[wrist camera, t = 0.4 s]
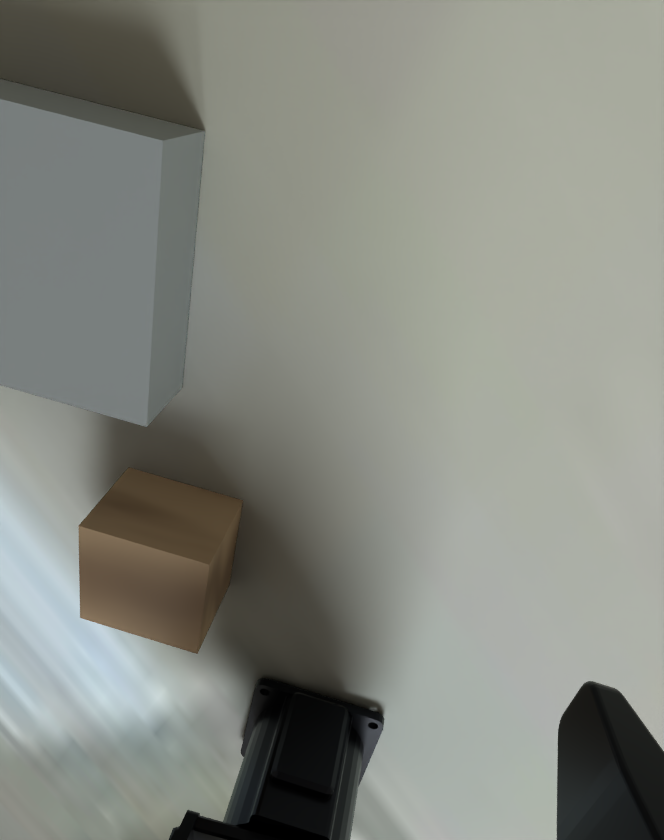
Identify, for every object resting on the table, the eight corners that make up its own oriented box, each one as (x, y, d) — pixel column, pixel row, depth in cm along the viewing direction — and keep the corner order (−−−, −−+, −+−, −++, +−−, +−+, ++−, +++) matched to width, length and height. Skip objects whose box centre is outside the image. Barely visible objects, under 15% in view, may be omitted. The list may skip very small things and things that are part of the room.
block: (230, 582, 28) (197, 653, 25) (126, 551, 28) (80, 617, 25) (244, 498, 26) (209, 564, 22) (130, 465, 26) (78, 526, 22)
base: (182, 387, 23) (146, 426, 21) (-39, 325, 24) (-101, 356, 21) (205, 130, 19) (162, 140, 16) (-71, 60, 19) (-154, 59, 17)
